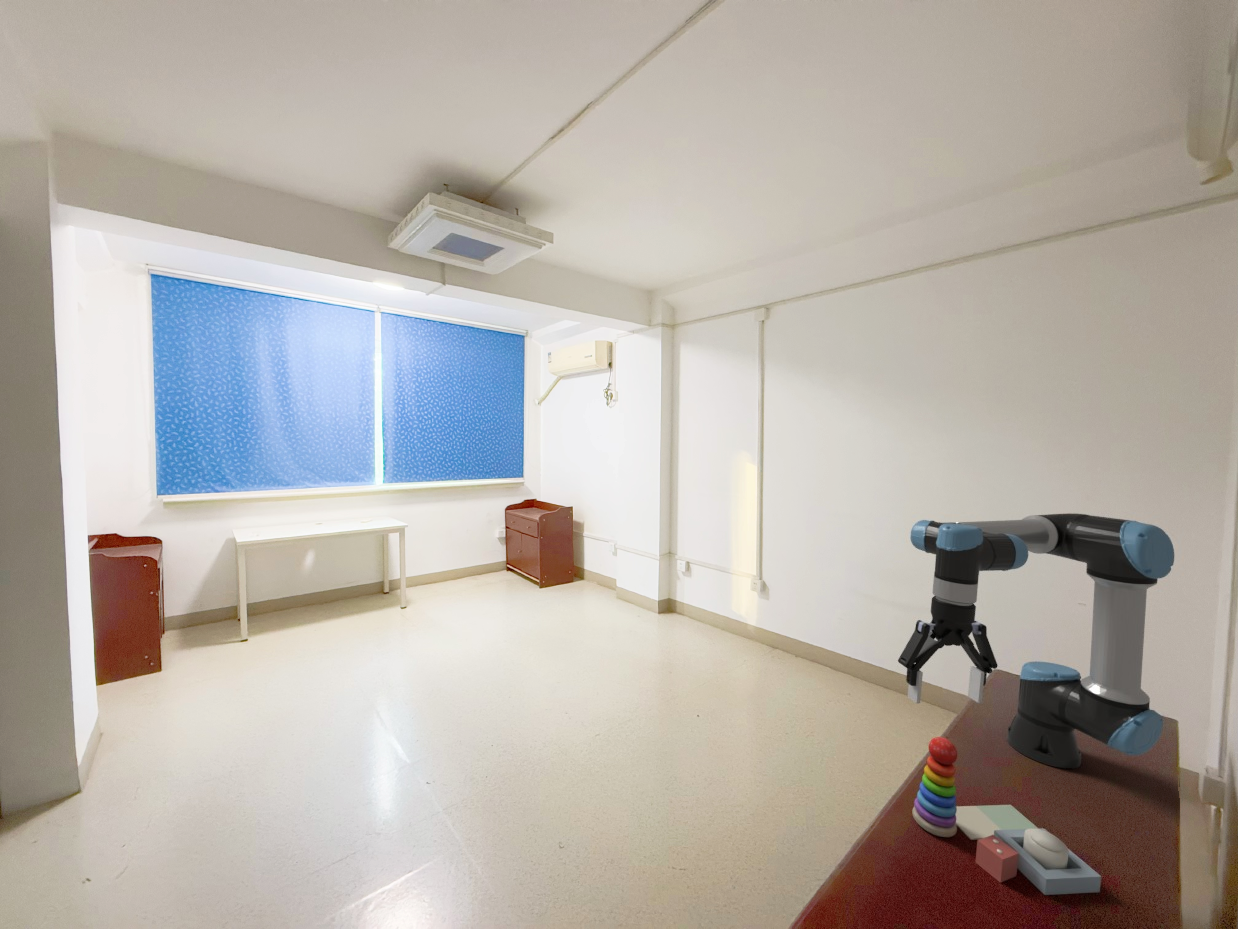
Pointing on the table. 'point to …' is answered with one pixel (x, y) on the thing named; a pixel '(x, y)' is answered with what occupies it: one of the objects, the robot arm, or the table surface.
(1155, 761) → the table surface
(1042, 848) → the dome button
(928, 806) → the stacking toy
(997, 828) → the square
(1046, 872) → the dome base
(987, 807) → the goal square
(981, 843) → the pink rectangular block
